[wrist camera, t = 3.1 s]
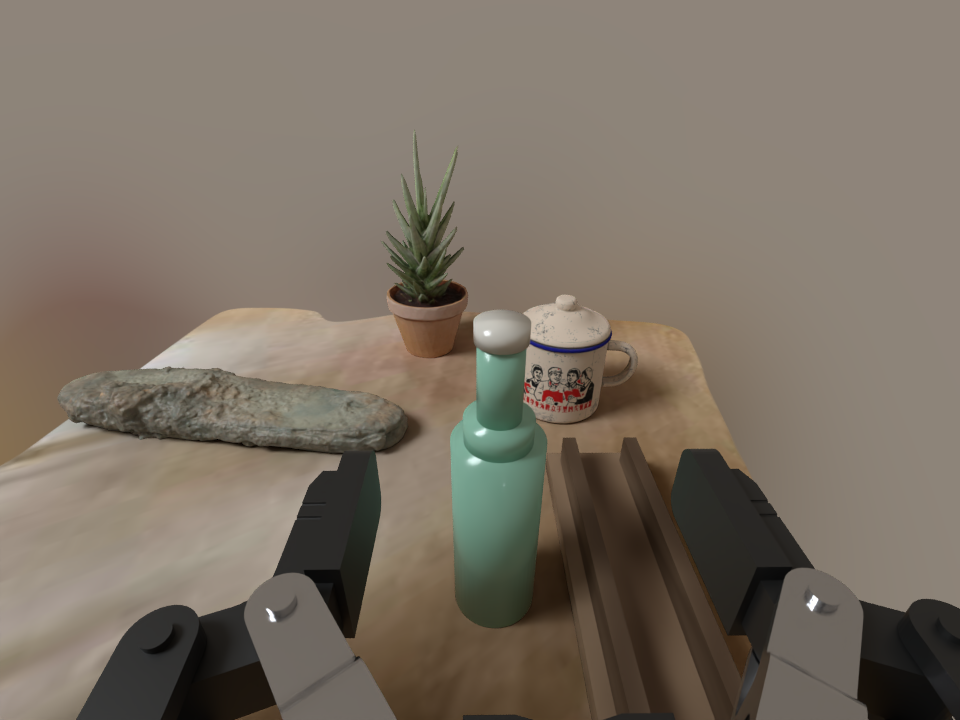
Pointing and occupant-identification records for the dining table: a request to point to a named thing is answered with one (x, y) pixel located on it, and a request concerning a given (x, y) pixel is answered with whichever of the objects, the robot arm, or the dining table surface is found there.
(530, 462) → the bottle
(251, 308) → the dining table surface
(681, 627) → the cradle
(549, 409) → the teacup with lid
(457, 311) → the potted plant
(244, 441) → the elongated rock
